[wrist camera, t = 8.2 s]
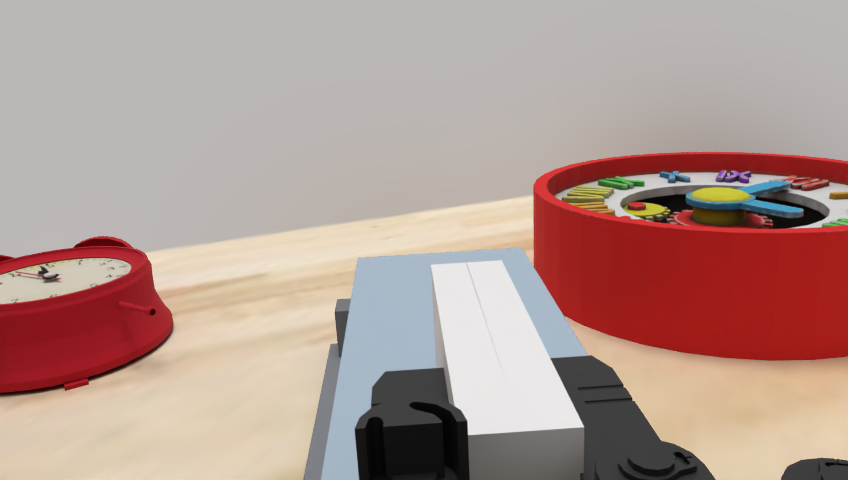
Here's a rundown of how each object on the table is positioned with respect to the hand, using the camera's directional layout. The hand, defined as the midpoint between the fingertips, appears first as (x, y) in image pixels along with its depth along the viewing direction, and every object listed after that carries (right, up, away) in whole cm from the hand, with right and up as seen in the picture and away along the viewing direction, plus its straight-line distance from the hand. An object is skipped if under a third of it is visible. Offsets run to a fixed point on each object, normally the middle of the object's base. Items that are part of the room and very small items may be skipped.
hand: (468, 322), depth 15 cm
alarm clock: (-20, -4, +22) cm, 30 cm away
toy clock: (+15, -1, +24) cm, 29 cm away
